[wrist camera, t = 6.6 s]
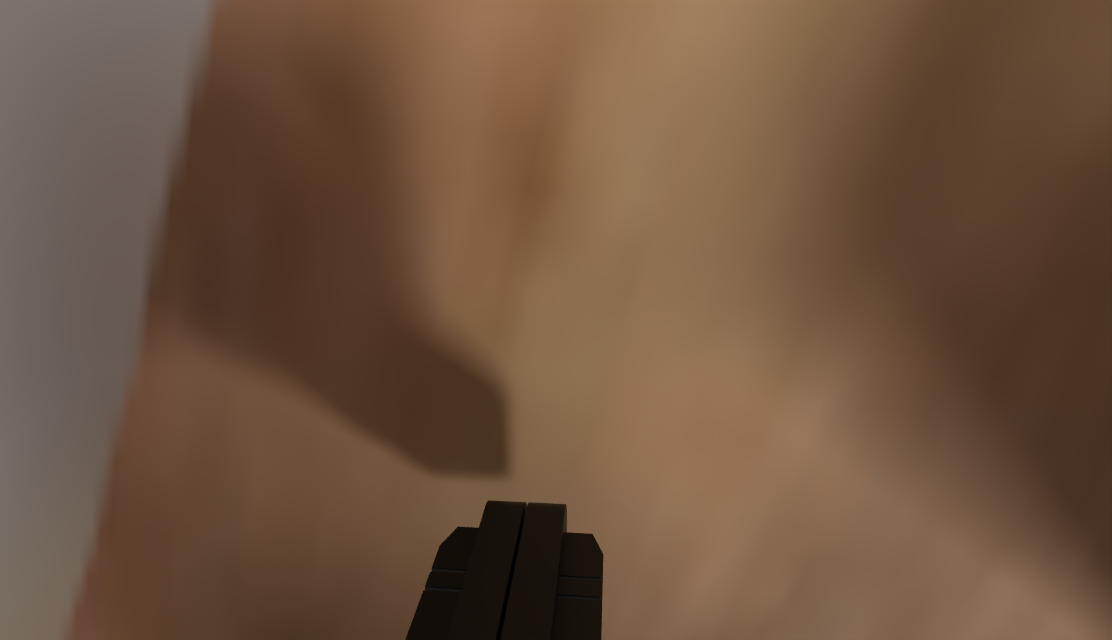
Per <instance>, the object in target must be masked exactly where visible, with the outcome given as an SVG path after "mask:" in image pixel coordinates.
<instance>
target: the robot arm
mask: <svg viewBox="0 0 1112 640" xmlns="http://www.w3.org/2000/svg"><path fill="white" fill-rule="evenodd" d="M602 586H603V553H602V551H601V549H600V547H599V545H598V543H597V542H596V540H595V538H594V536H593V534H584V533H567V506H566V504H550V503H530V502H529V503H528V505H527V504H526V502H508V501H487V503H486V506H485V510H484V513H483V516H482V520H481V523H480V526H479V528H472V527H457V528H456V529H455V530H454V531H453V532H452V533H451V534H450V536H449V537H448V538H447V539H446V540H445V541H444V542H443V543H442V544H441V545H440V547H439V550H438V552H437V555H436V558H435V560H434V563H433V566H432V572H430V574H429V577H428V580H427V582H426V585H425V591H423V593H422V596H421V599H420V601H419V604H418V607H417V610H416V612H415V615H414V618H413V620H412V623H411V626H410V629H409V631H408V634H407V637H406V640H601V626H602Z"/></svg>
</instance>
